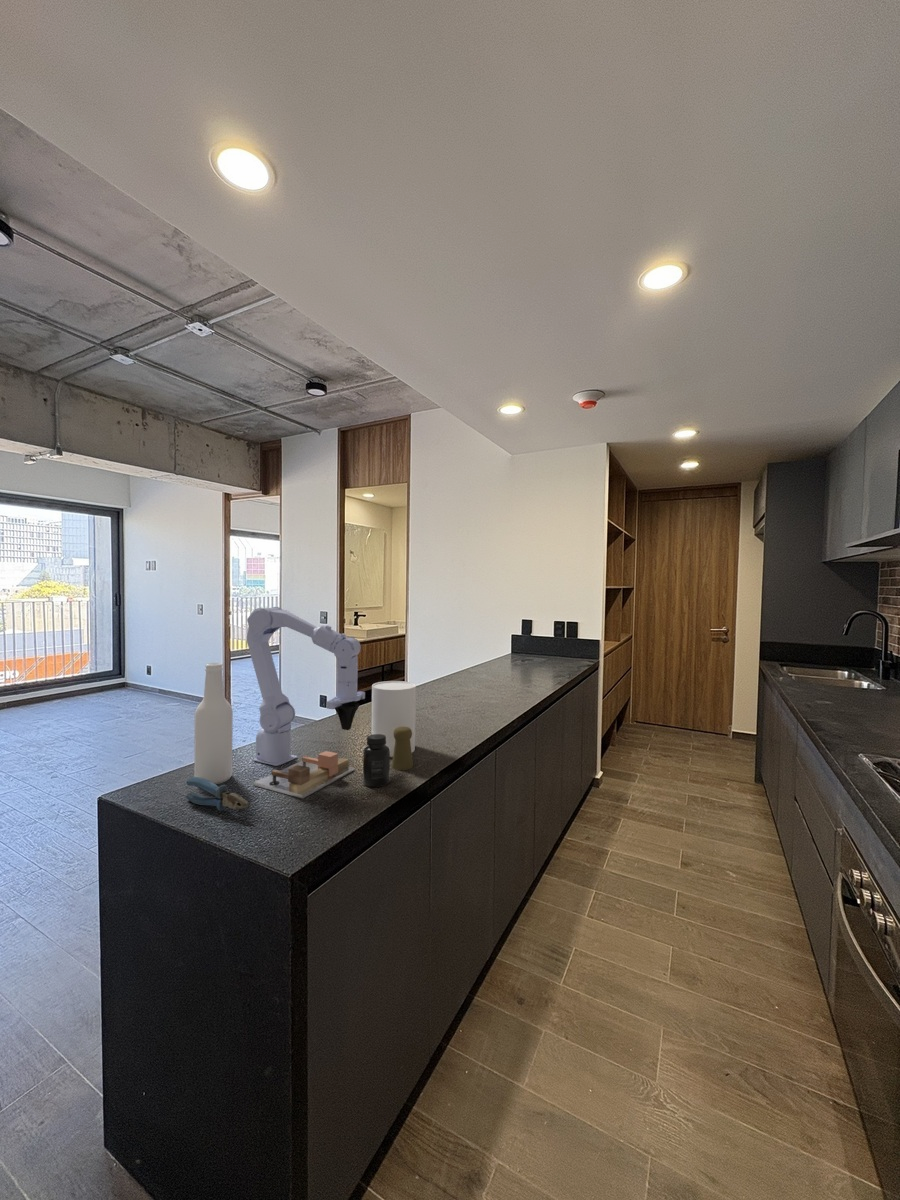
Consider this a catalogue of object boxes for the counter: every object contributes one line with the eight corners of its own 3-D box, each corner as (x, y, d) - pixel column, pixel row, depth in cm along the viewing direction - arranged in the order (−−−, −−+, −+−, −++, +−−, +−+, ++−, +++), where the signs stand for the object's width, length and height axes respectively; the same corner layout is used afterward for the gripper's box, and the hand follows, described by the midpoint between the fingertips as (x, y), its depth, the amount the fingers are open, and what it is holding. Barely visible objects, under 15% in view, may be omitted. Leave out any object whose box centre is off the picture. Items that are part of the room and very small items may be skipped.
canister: (423, 747, 154) (424, 684, 153) (396, 759, 142) (397, 691, 142) (390, 739, 161) (391, 679, 160) (361, 750, 150) (362, 686, 149)
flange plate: (253, 785, 123) (253, 781, 123) (308, 760, 141) (308, 757, 141) (302, 798, 116) (302, 794, 116) (353, 770, 134) (354, 767, 134)
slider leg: (299, 769, 131) (299, 750, 130) (307, 765, 133) (307, 747, 133) (330, 776, 126) (330, 757, 126) (337, 772, 129) (338, 753, 129)
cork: (391, 762, 140) (392, 724, 140) (413, 762, 141) (413, 724, 140) (391, 770, 134) (391, 730, 134) (413, 770, 135) (413, 730, 134)
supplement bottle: (393, 779, 128) (394, 734, 127) (382, 789, 121) (382, 742, 121) (370, 775, 130) (371, 731, 130) (357, 785, 124) (358, 738, 123)
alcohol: (213, 771, 131) (213, 660, 131) (239, 775, 129) (240, 662, 128) (186, 783, 123) (186, 665, 122) (214, 788, 120) (214, 667, 120)
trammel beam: (267, 785, 121) (267, 765, 120) (321, 760, 139) (321, 742, 138) (299, 794, 116) (299, 772, 116) (351, 766, 134) (351, 748, 134)
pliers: (250, 818, 106) (250, 791, 105) (242, 822, 104) (242, 795, 104) (193, 797, 115) (193, 772, 115) (184, 801, 113) (184, 775, 113)
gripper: (341, 687, 128) (341, 738, 129) (373, 678, 141) (373, 724, 142) (320, 684, 131) (320, 734, 132) (354, 675, 144) (353, 721, 145)
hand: (346, 729), depth 137 cm, fingers closed
